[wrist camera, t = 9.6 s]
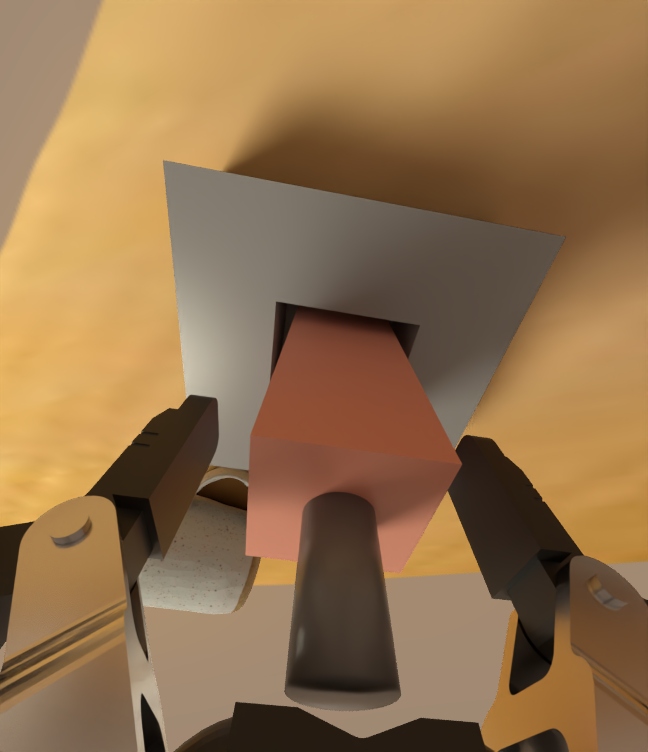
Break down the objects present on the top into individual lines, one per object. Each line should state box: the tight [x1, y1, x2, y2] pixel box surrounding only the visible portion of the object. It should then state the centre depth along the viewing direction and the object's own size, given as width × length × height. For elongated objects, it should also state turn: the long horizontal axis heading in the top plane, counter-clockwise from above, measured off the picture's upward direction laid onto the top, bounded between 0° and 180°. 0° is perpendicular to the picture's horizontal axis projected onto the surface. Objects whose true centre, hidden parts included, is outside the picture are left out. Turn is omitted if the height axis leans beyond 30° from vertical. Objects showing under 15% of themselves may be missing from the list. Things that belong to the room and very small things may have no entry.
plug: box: [245, 305, 462, 711], centre depth 11 cm, size 4×4×14 cm
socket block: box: [163, 160, 566, 470], centre depth 15 cm, size 14×14×5 cm
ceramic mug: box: [138, 467, 261, 614], centre depth 22 cm, size 11×8×8 cm
